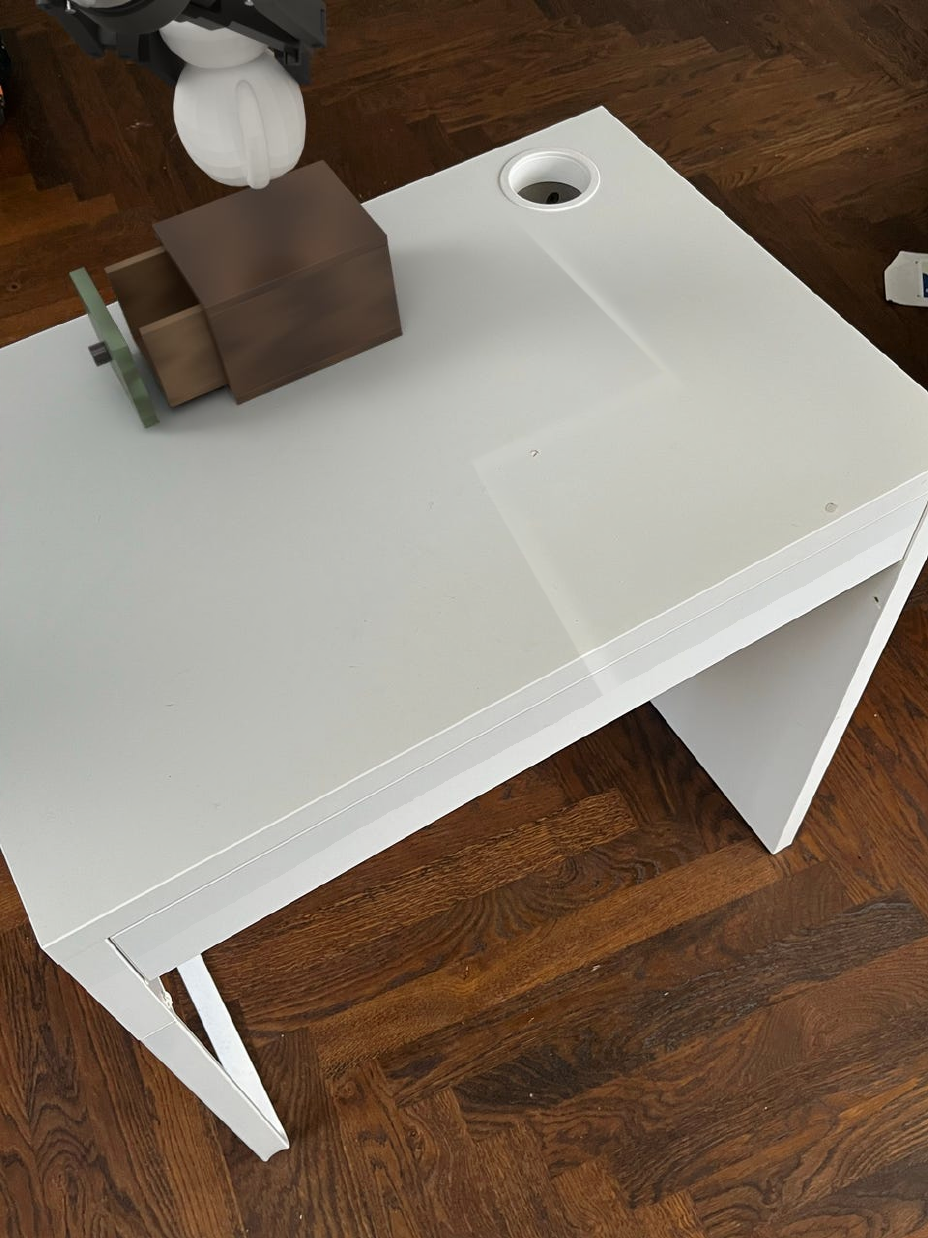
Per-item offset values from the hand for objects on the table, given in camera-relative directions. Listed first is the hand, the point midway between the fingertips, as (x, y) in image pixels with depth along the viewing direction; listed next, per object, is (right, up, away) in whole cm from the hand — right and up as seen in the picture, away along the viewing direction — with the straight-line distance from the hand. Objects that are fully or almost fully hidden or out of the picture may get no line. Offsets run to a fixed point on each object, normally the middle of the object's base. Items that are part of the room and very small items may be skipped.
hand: (241, 66), depth 80 cm
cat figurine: (0, -6, +3) cm, 7 cm away
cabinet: (+1, -14, +15) cm, 21 cm away
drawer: (-6, -18, +12) cm, 22 cm away
